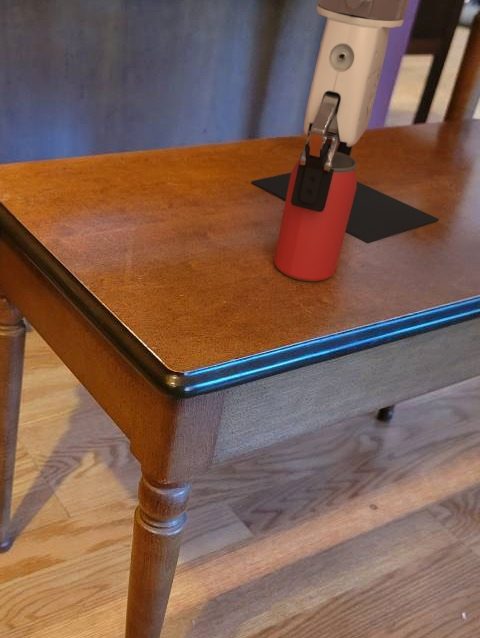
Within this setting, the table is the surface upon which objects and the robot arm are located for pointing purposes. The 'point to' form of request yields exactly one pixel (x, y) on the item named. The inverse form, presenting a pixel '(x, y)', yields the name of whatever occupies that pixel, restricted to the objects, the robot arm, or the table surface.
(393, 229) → the mat
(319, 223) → the beer can
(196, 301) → the table surface
